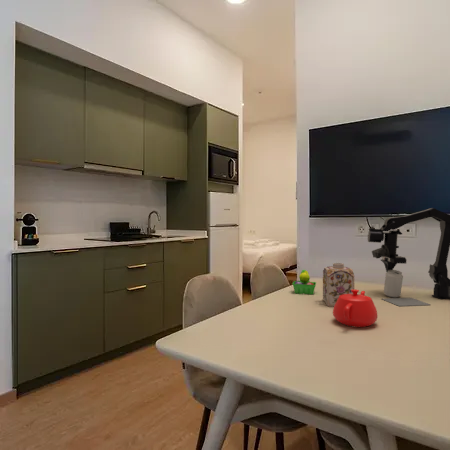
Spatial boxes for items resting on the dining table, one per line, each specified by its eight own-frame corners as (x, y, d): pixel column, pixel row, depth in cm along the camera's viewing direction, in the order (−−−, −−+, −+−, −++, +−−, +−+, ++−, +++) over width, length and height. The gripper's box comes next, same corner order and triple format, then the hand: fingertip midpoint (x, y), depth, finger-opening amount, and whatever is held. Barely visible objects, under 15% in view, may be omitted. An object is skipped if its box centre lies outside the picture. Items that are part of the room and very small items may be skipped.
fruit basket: (292, 293, 178) (292, 271, 177) (294, 290, 186) (294, 268, 186) (315, 295, 174) (315, 272, 174) (316, 291, 183) (316, 269, 182)
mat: (411, 298, 167) (411, 297, 167) (430, 305, 155) (430, 304, 155) (381, 299, 165) (381, 298, 165) (398, 306, 153) (398, 305, 153)
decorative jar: (348, 300, 163) (348, 261, 163) (355, 307, 152) (355, 265, 151) (321, 299, 165) (322, 261, 164) (326, 306, 153) (326, 265, 153)
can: (403, 298, 168) (406, 274, 165) (387, 298, 168) (390, 274, 165) (395, 292, 175) (398, 269, 173) (380, 292, 175) (383, 268, 173)
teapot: (369, 335, 116) (370, 299, 116) (323, 327, 125) (323, 293, 125) (384, 317, 137) (385, 286, 136) (343, 311, 145) (344, 281, 145)
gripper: (365, 240, 181) (363, 270, 182) (385, 245, 163) (383, 279, 164) (385, 241, 182) (383, 270, 183) (408, 245, 164) (405, 279, 165)
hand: (388, 274), depth 174 cm, fingers closed
